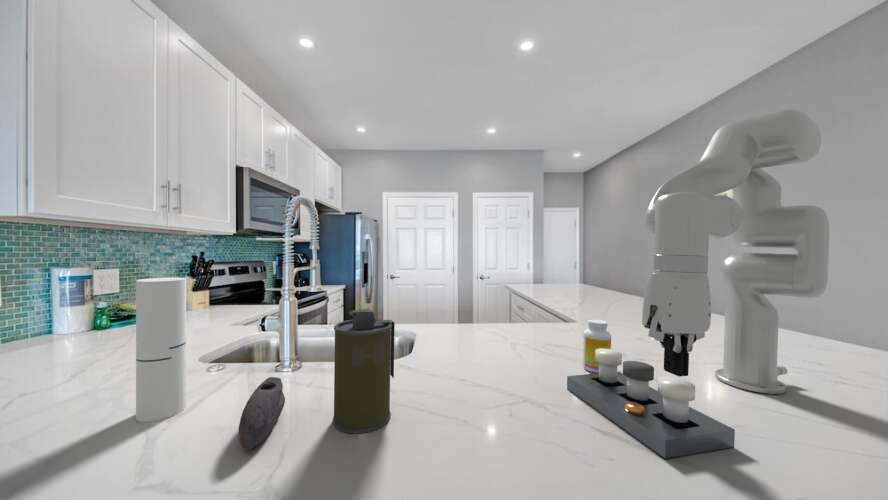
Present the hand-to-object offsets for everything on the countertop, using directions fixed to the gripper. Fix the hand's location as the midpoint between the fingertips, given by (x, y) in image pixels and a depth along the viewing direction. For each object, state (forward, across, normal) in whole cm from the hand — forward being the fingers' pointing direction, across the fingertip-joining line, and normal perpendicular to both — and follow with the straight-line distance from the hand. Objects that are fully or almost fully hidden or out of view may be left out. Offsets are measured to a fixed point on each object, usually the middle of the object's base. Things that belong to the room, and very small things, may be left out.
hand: (675, 373), depth 56 cm
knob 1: (+8, 0, -16) cm, 18 cm away
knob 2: (+8, 0, 0) cm, 8 cm away
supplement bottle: (+11, -8, -30) cm, 33 cm away
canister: (+12, +52, -18) cm, 56 cm away
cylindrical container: (+12, +88, -28) cm, 94 cm away
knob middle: (+8, 0, -8) cm, 11 cm away
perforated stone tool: (+12, +68, -17) cm, 72 cm away
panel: (+11, 0, -8) cm, 14 cm away
